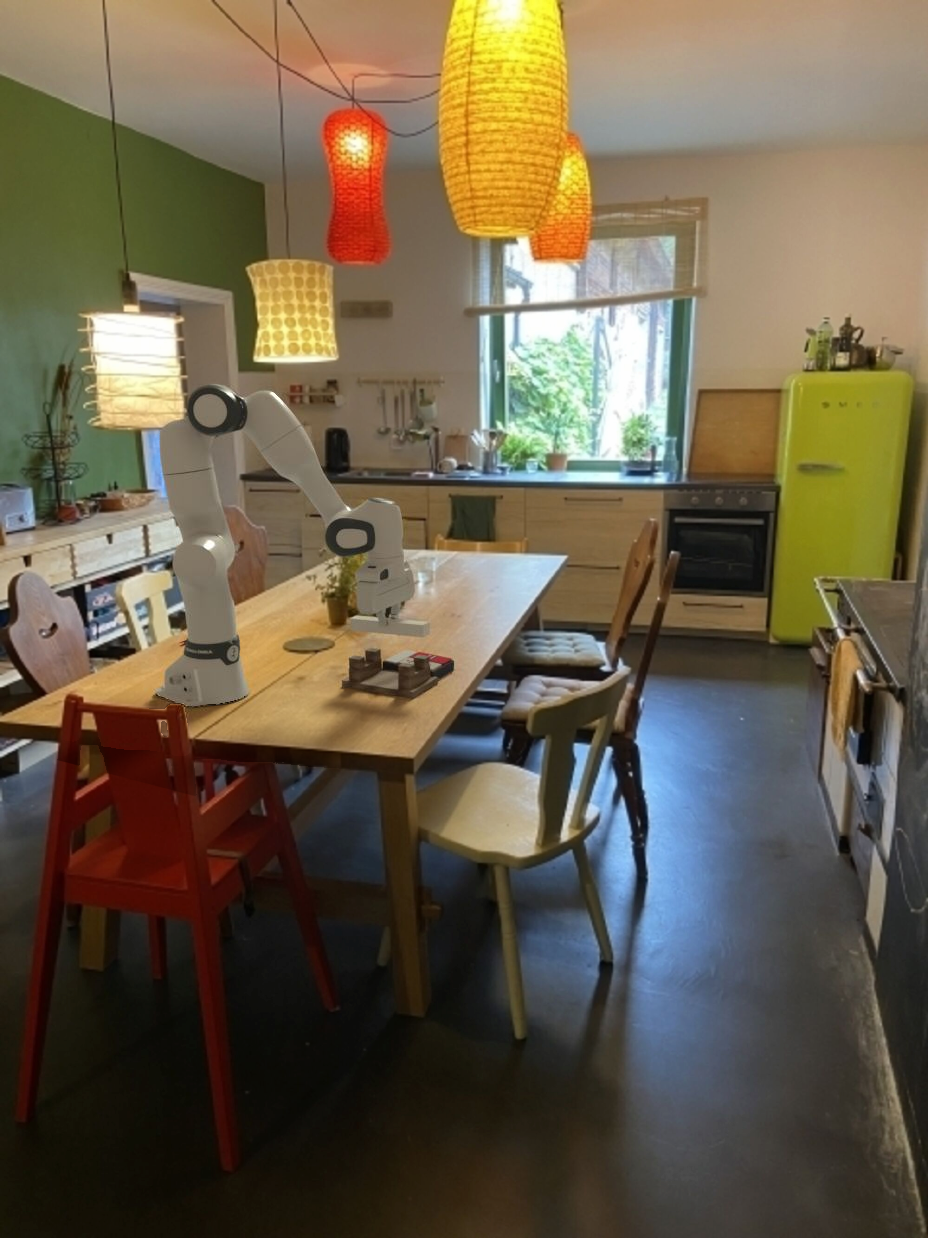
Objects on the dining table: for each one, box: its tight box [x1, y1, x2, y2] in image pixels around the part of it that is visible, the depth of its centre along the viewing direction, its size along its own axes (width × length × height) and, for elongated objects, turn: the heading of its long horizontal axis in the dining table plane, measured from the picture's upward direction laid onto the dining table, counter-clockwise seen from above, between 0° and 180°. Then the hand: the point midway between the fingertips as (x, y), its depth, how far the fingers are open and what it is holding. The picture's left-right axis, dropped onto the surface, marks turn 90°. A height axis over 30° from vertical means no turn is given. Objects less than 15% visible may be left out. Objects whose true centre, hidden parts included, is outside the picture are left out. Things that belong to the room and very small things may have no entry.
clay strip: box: [349, 615, 430, 638], centre depth 211 cm, size 20×3×3 cm, turn 65°
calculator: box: [382, 649, 455, 680], centre depth 224 cm, size 11×4×15 cm
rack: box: [341, 647, 439, 699], centre depth 214 cm, size 20×12×7 cm, turn 62°
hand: (388, 623), depth 211 cm, fingers closed on clay strip, 3 cm apart
